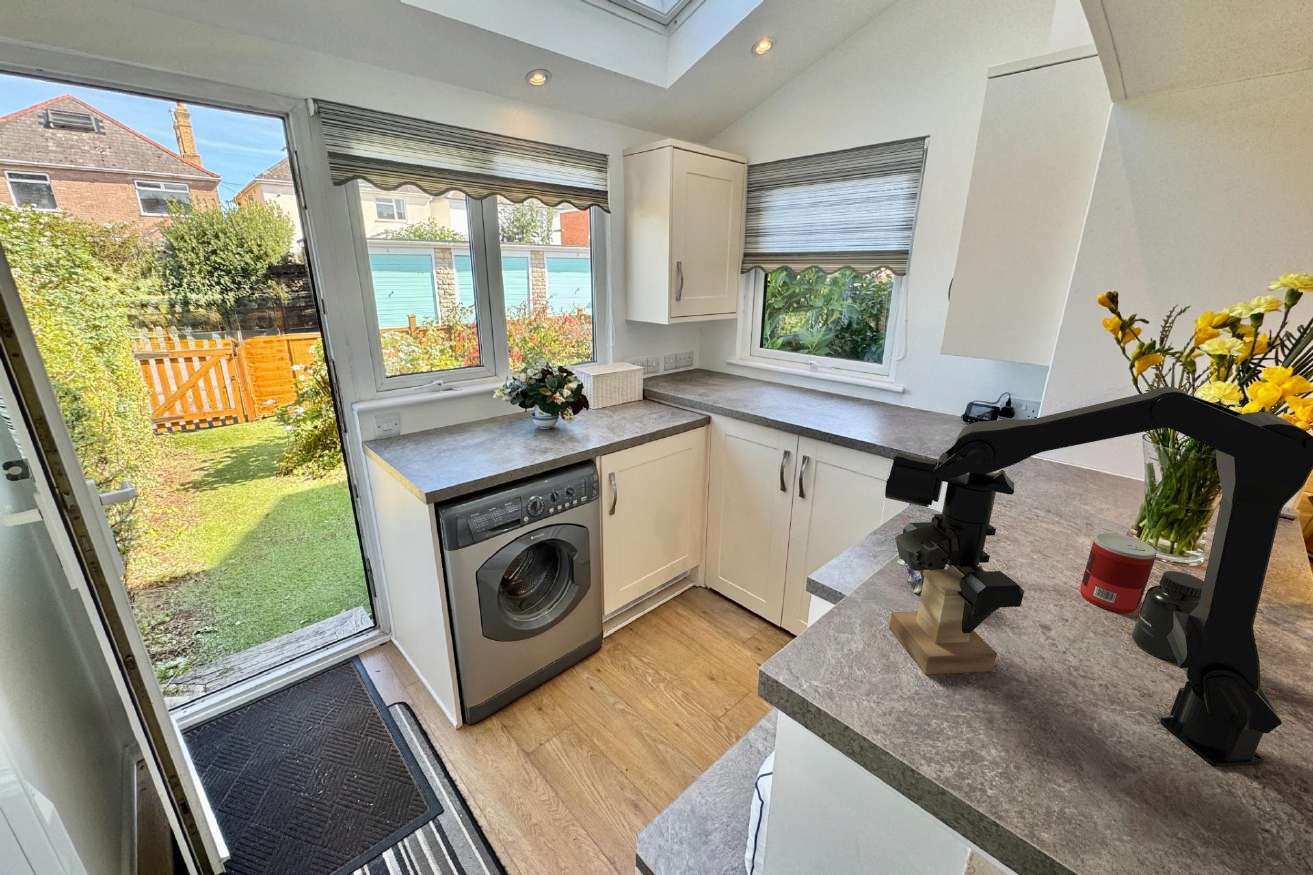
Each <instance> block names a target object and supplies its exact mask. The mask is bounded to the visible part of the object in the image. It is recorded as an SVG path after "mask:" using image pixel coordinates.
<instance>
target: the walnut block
mask: <svg viewBox="0 0 1313 875" xmlns="http://www.w3.org/2000/svg"><path fill="white" fill-rule="evenodd" d="M917 614H918V610H916V611H915V610H914V611H910V610H909V611H891V616H890V623H889V627H888V629H889V630H890V631H891V633H892V634H893V635H894V636H896V637H895V638H896V640H897V641H898V642H899V643H900V644H901V646H902V647H903V648H904V650H905V651H906V652H907V653H908V655H909V656H910V657H911V659H912V660H913V662H915V664H917V666H918V667H919V669H920V670H921V671H922V673H923V674H924V675H938V674H939V675H940V674H942V675H945V674H959V673H961V674H962V673H982V672H984V673H985V672H993V671H994V667H995V663H996V659H997V656H998V655H997V654H998V652H996V651H995V650H994V649H993V648H992V647H991V646H990V645H989V644H988V643H987V642H986V641H985V640H984V639H983V638H982V637H981V636H980V635H979V634H978V633H977V632H976V631H975V629H974V630H973V631H972V632H971V633H970V638H969V642H960V643H938V644H935V643H934V642H933V640H932V639H931V638H930V637H929V636H928V635H927V634H926V632H925V631H924V630H923V629H922V628H921V627H920V626H919V624H918V623H917V622H916V619H917Z"/></svg>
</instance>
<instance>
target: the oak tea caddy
mask: <svg viewBox="0 0 1313 875" xmlns="http://www.w3.org/2000/svg"><path fill="white" fill-rule="evenodd" d="M923 575H924V576H925V577H924V582H923V587H922V592H921V593H920V598H919V604H918V609H917V611H918V614H917V619H916V622H917V623H918V624H919V626H920V627H921V628H922V629H923V630H924V631H925V632H926V634H927V635H928V636H929V637H930V638H931V639H932V640H933V642H934V643H935V644H938V643H960V642H969V638H970V633H963V632H962V617H963V609H964V600H963V599H962V598H961V597H960V596H959V595H958V593H957V592H961V589H960V580H961V578H962V577H963V576H964V574H963V573H961V572H960V571H959V570H958V569H937V570H931V571H930V570H924V571H923Z"/></svg>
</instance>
